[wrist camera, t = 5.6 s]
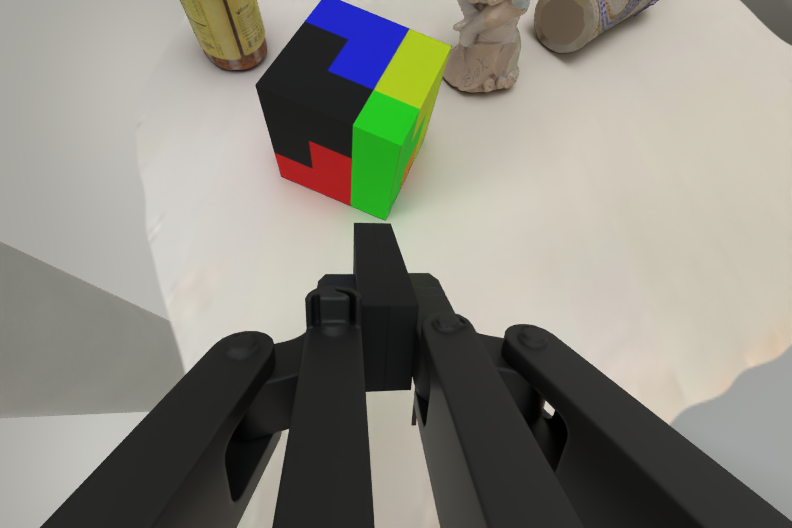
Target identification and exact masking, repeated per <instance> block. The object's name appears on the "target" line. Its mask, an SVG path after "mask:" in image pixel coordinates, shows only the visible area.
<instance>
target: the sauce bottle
mask: <svg viewBox="0 0 792 528" xmlns="http://www.w3.org/2000/svg"><path fill="white" fill-rule="evenodd" d="M180 2H181V4H182V6H183V8H184V10H185V13H186V15H187V17H188V19H189V22H190V24H191V26H192V28H193V31H194V33H195V35H196V37H197V39H198V42H199V44H200V46H201V47H202V48H203V50H204V52H205V54H206V55H207V56H208V58H209V59H210V60H212V62H213V63H215V64H216V65H217V66H220V67H221V68H223V69H225V70H245V69H250V68H252V67H254V66H256V65H257V64H259V62H260V61H262V60H263V59H264V57H265V55H266V52H267V45H266V39H265V30H264V26H263V22H262V18H261V14H260V11H259V7H258V3H257V0H180Z"/></svg>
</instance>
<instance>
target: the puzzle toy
mask: <svg viewBox="0 0 792 528" xmlns="http://www.w3.org/2000/svg"><path fill="white" fill-rule="evenodd" d="M451 47H452V46H451V45H448V44H446V43H443V42H441V41H438V40H436V39H434V38H431V37H429V36H426V35H424V34H421V33H419V32H416V31H414V30H412V29H409V28H407V27H404V26H402V25H399V24H397V23H394V22H392V21H390V20H387V19H385V18H382V17H380V16H377V15H375V14H373V13H370V12H368V11H365V10H363V9H360V8H358V7H355V6H353V5H351V4H348V3H346V2H343V1H341V0H321V1H320V2H319V4H318V5H317V6H316V8H315V9H314V10H313V11H312V13H311V14H310V15H309V17H308V18H307V19H306V20H305V22H304V23H303V24H302V26H301V27H300V28H299V29H298V31H297V32H296V33H295V35H294V36H293V37H292V38H291V40H290V41H289V42H288V44H287V45H286V46H285V48H284V49H283V50H282V51H281V53H280V54H279V55H278V57H277V58H276V59H275V60H274V62H273V63H272V64H271V66H270V67H269V68H268V69H267V71H266V72H265V73H264V75H263V76H262V77H261V78H260V80H259V81H258V82H257V84H256V89H257V92H258V96H259V99H260V103H261V106H262V110H263V113H264V117H265V121H266V124H267V128H268V131H269V135H270V138H271V142H272V145H273V149H274V152H275V156H276V159H277V163H278V166H279V170H280V174H281V177H284V178H286V179H288V180H291V181H293V182H295V183H298V184H300V185H302V186H305V187H307V188H310V189H312V190H314V191H317V192H319V193H321V194H324V195H326V196H328V197H331V198H333V199H336V200H338V201H340V202H343V203H345V204H347V205H350V206H352V207H354V208H357V209H359V210H362V211H364V212H366V213H369V214H371V215H373V216H376V217H378V218H380V219H383V220H386V218H387V216H388V214H389V212H390V210H391V208H392V205H393V203H394V201H395V199H396V197H397V195H398V193H399V191H400V189H401V186H402V184H403V182H404V180H405V178H406V176H407V174H408V172H409V170H410V167H411V165H412V163H413V161H414V159H415V157H416V155H417V153H418V151H419V148H420V146H421V144H422V142H423V140H424V137H425V134H426V131H427V127H428V124H429V121H430V117H431V114H432V111H433V107H434V104H435V100H436V97H437V94H438V90H439V87H440V84H441V80H442V77H443V74H444V70H445V67H446V64H447V60H448V57H449V53H450V50H451Z"/></svg>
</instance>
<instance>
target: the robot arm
mask: <svg viewBox="0 0 792 528" xmlns="http://www.w3.org/2000/svg"><path fill="white" fill-rule="evenodd" d="M305 303H306V324H307V329H306V332H305V333H304V334H302V335H301V336H299V337H297V338H295V339H292V340H289V341H286V342H281V343H277V344H274V343H273V340H272V338H271V337H270V336H268V335H267V334H265V333H261V332H257V331H244V332H239V333H235V334H232V335H229V336H227V337H225V338H222V339H221V340H220V341H219V342H217V343H216V344H215V345H214V346H213V347H212V348H211V349H210V350H209V351H208V352H207V353H206V354H205V355H204V356H203V357H202V358H201V359H200V360H199V361H198V362H197V363H196V364H195V365H194V367H193V368H192V369H191V370H190V371H189V372H188V373H187V374H186V375H185V376H184V377H183V378H182V379H181V380H180V381H179V382H178V383H177V384H176V385H175V386H174V388H173V389H172V390H171V391H170V392H169V393H168V394H167V395H166V396H165V397H164V398H163V399H162V400H161V401H160V402H159V403H158V404H157V405H156V406H155V407H154V409H153V410H152V411H151V412H150V413H149V414H148V415H147V416H146V417H145V418H144V419H143V420H142V421H141V422H140V423H139V424H138V426H136V427H135V428H134V429H133V431H132V432H131V433H130V434H129V435H128V436H127V437H126V438H125V439H124V440H123V441H122V442H121V443H120V444H119V445H118V446H117V447H116V448H115V449H114V450H113V452H112V453H111V454H110V455H109V456H108V457H107V458H106V459H105V460H104V461H103V462H102V463H101V464H100V465H99V466H98V467H97V468H96V469H95V471H93V473H92V474H91V475H90V476H89V477H88V478H87V479H86V480H85V481H84V482H83V483H82V484H81V485H80V486H79V487H78V488H77V489H76V490H75V492H74V493H73V494H72V495H71V496H70V497H69V498H68V499H67V500H66V501H65V502H64V503H63V504H62V505H61V506H60V507H59V508H58V509H57V510H56V511H55V512H54V513H53V515H52V516H51V517H50V518H49V519H48V520H47V521H46V522H45V523H44V524H43V525H42V526H41V527H40V528H237V526H238V524H239V522H240V520H241V518H242V516H243V513H244V511H245V509H246V507H247V505H248V503H249V501H250V499H251V497H252V495H253V493H254V491H255V489H256V487H257V485H258V483H259V481H260V479H261V476H262V474H263V472H264V470H265V468H266V466H267V464H268V462H269V460H270V458H271V456H272V454H273V452H274V450H275V448H276V446H277V444H278V442H279V439H280V437H281V432H282V431H283V430H286V429H289V434H288V439H287V445H286V451H285V457H284V463H283V468H282V474H281V480H280V486H279V492H278V497H277V503H276V509H275V515H274V521H273V526H272V528H375V527H374V512H373V497H372V482H371V467H370V452H369V437H368V422H367V407H366V392H372V391H395V390H411V383H412V376H413V380H414V385H415V393H414V403H413V413H412V425H416V418H417V421H418V426H419V430H420V435H421V440H422V444H423V449H424V454H425V458H426V463H427V468H428V472H429V477H430V482H431V486H432V491H433V495H434V500H435V505H436V509H437V514H438V519H439V523H440V528H792V521H791V520H789V519H788V518H787V517H786V516H784V515H783V514H782V513H780V512H779V511H778V510H777V509H775V508H774V507H773V506H771V505H770V504H769V503H768V502H766V501H765V500H764V499H763V498H761V497H760V496H759V495H757V494H756V493H755V492H754V491H752V490H751V489H750V488H749V487H747V486H746V485H745V484H743V483H742V482H741V481H740V480H738V479H737V478H736V477H734V476H733V475H732V474H731V473H729V472H728V471H727V470H726V469H724V468H723V467H722V466H720V465H719V464H718V463H717V462H715V461H714V460H713V459H712V458H710V457H709V456H708V455H706V454H705V453H704V452H702V451H701V450H700V449H699V448H697V447H696V446H695V445H694V444H692V443H691V442H690V441H688V440H687V439H686V438H685V437H683V436H682V435H681V434H679V433H678V432H677V431H676V430H674V429H673V428H672V427H671V426H669V425H668V424H667V423H666V422H664V421H663V420H662V419H660V418H659V417H658V416H657V415H655V414H654V413H653V412H652V411H650V410H649V409H648V408H646V407H645V406H644V405H643V404H641V403H640V402H639V401H638V400H636V399H635V398H634V397H632V396H631V395H630V394H629V393H627V392H626V391H625V390H623V389H622V388H621V387H620V386H618V385H617V384H616V383H615V382H613V381H612V380H611V379H609V378H608V377H607V376H606V375H604V374H603V373H602V372H601V371H599V370H598V369H597V368H595V367H594V366H593V365H592V364H590V363H589V362H588V361H586V360H585V359H584V358H583V357H581V356H580V355H579V354H578V353H576V352H575V351H574V350H572V349H571V348H570V347H569V346H567V345H566V344H565V343H563V342H562V341H561V340H560V339H558V338H557V337H556V336H555V335H553V334H552V333H550V332H548V331H547V330H545V329H542V328H539V327H537V326H534V325H529V324H518V325H513V326H511V327H509V328H508V329H507V330H506V331H505V335H504V338H499V337H493V336H488V335H483V334H479V333H477V332H476V331H475V329H474V327H473V325H472V324H471V323H470V322H469V320H468V319H466V318H464V317H463V316H461V315H459V314H455V312H454V310H453V308H452V306H451V304H450V302H449V300H448V299H447V297H446V296H445V293H444V291H443V289H442V287H441V285H440V283H439V281H438V279H436V278H435V277H433V276H432V275H431V274H429V273H408V272H407V269H406V266H405V263H404V260H403V258H402V255H401V252H400V249H399V246H398V243H397V241H396V238H395V235H394V232H393V229H392V226H391V224H386V223H354V261H353V274H325V275H324V276H323V277H322V278H321V279H320V280H319V281H318V285H317V289H314V290H313V291H311V292H309V293H308V295H307V296H306V298H305ZM545 401H547V402H548V403H549V404H550V405H551V406H552V407H553V408H554V409H555V412H554V415H553V416H551V415H550V414H549V413H548V412H547V411H546V410H545V409H544V404H545Z"/></svg>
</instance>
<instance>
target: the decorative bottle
mask: <svg viewBox="0 0 792 528" xmlns="http://www.w3.org/2000/svg"><path fill="white" fill-rule="evenodd" d="M657 1H658V0H539V1H538V3H537V5H536V8H535V14H534V27H535V30H536V33H537V37H538V38H539V40H540V42H541V43H543V45H545V46H546V47H547V48H549V49H550V50H552V51H555V52H558V53H567V52H569V53H570V52H574V51H576V50H578V49H580V48H582V47H584V46H585V45H586V44H587V43H588V42H589V41H591V40H593V39H594V38H595V37H596V36H598V35H599V34H602V33H603V32H604V31H606V30H607V29H609V28H611V27H613V26H614V25H616V24H617V23H619V22H621V21H622V20H624V19H626V18H628V17H629V16H630V15H632V14H634V16H636V15H637V14H638V13H640V12H641V11H642V10H644V9H646V8H648V7H649V6H651V5H654V4H655V3H656V2H657Z"/></svg>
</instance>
